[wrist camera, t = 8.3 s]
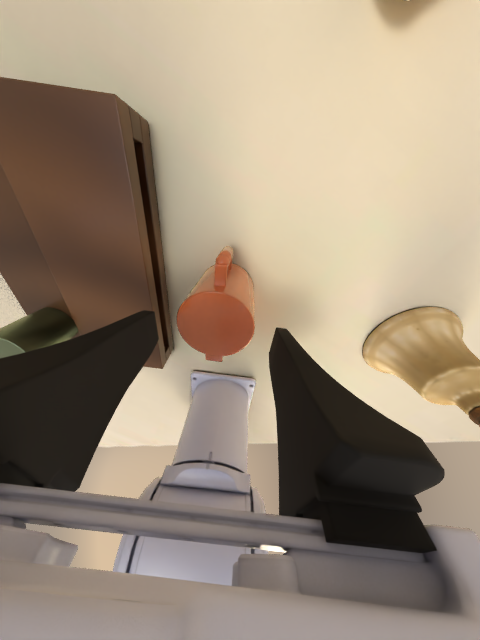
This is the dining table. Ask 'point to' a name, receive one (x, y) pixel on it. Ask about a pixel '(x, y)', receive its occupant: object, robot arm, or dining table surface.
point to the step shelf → (80, 208)
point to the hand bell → (428, 357)
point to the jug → (219, 310)
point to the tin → (36, 332)
